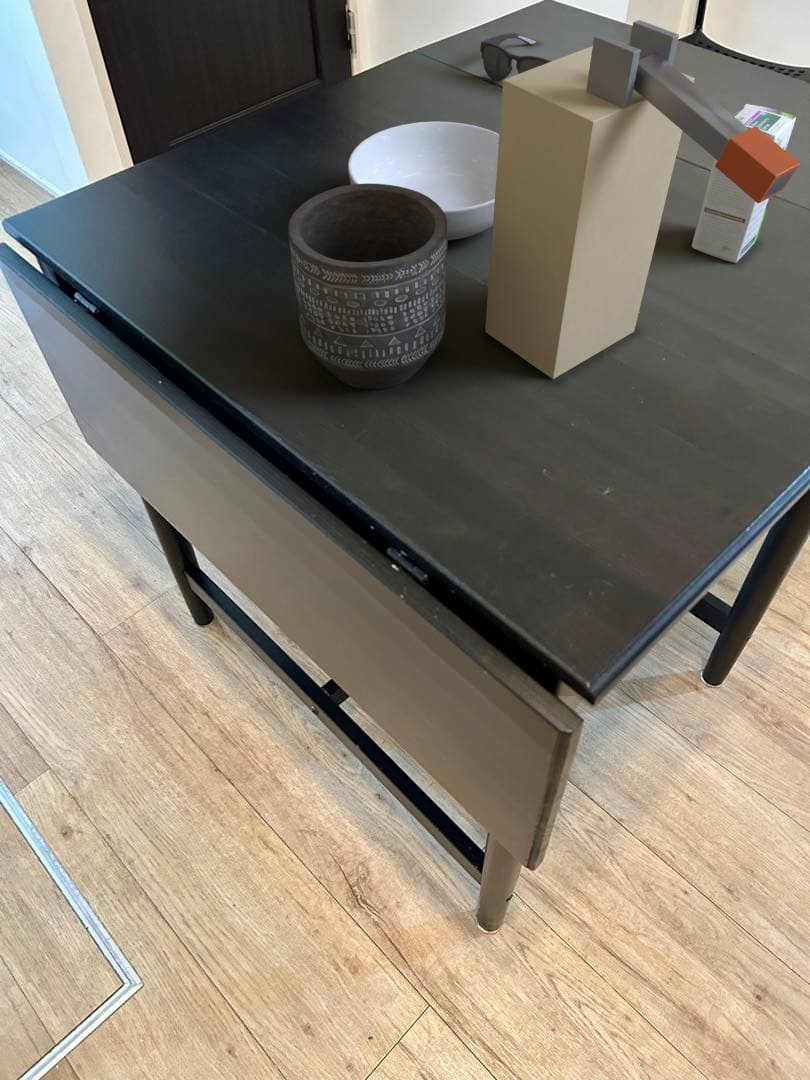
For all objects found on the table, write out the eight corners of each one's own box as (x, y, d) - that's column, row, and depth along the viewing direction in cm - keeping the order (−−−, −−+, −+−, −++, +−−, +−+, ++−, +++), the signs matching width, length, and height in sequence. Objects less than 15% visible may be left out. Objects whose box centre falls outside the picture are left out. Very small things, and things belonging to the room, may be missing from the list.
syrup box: (736, 264, 94) (779, 136, 83) (688, 248, 97) (723, 120, 85) (756, 242, 97) (800, 115, 86) (709, 226, 100) (745, 100, 88)
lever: (782, 190, 62) (801, 163, 60) (758, 204, 61) (775, 176, 58) (648, 77, 66) (660, 47, 64) (622, 87, 65) (634, 58, 63)
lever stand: (634, 331, 87) (708, 23, 65) (553, 379, 82) (602, 65, 60) (565, 289, 92) (611, -12, 70) (485, 331, 87) (506, 25, 65)
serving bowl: (345, 264, 96) (340, 208, 90) (357, 174, 109) (354, 120, 104) (526, 265, 95) (533, 208, 90) (516, 174, 108) (521, 120, 103)
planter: (368, 300, 91) (360, 167, 80) (472, 350, 85) (480, 215, 74) (276, 365, 84) (253, 230, 73) (383, 425, 79) (376, 288, 67)
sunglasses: (465, 74, 128) (469, 38, 124) (526, 53, 137) (531, 18, 134) (555, 103, 121) (562, 65, 117) (613, 79, 130) (621, 43, 127)
